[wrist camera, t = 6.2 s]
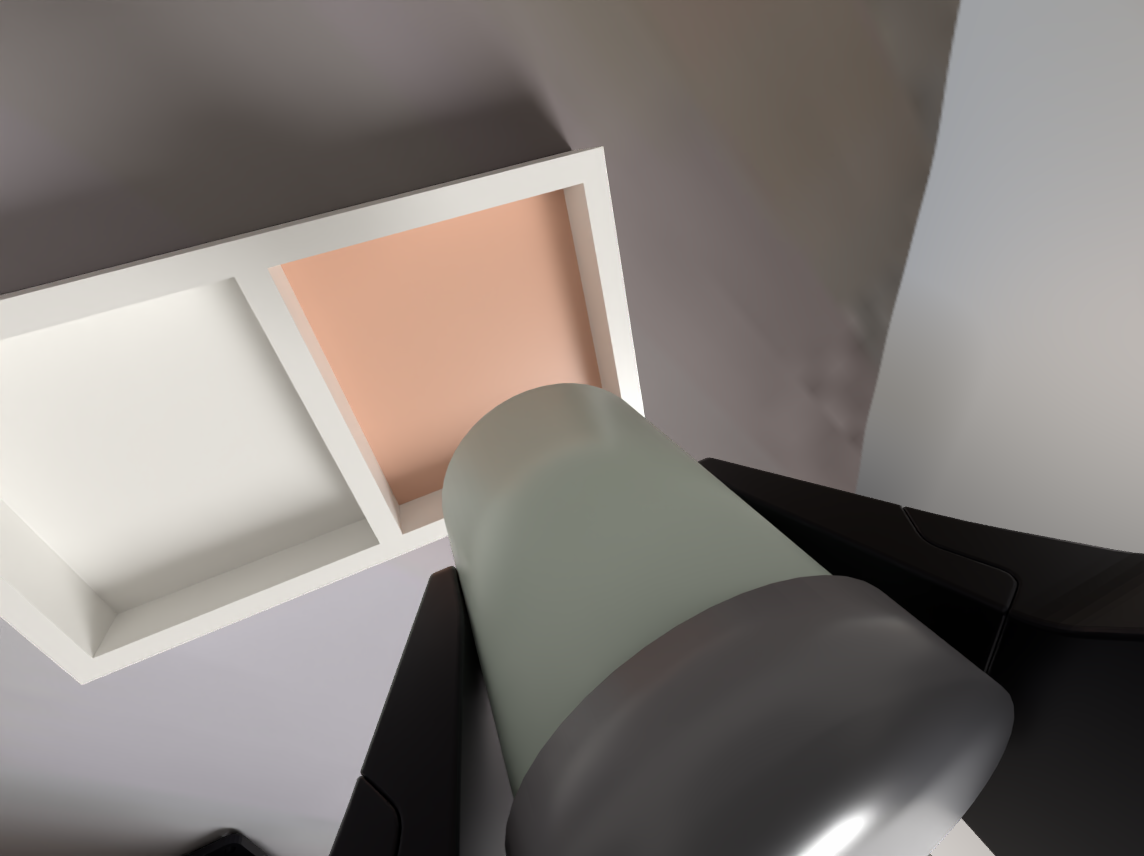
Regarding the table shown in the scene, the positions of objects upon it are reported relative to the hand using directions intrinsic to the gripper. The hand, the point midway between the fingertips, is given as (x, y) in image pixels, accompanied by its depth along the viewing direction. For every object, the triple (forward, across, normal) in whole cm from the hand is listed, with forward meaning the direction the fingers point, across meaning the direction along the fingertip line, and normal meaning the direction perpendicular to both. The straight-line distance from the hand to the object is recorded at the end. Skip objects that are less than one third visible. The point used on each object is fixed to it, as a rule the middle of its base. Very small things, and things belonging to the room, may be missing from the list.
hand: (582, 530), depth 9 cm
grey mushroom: (+2, 0, 0) cm, 2 cm away
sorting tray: (+11, +5, 0) cm, 12 cm away
